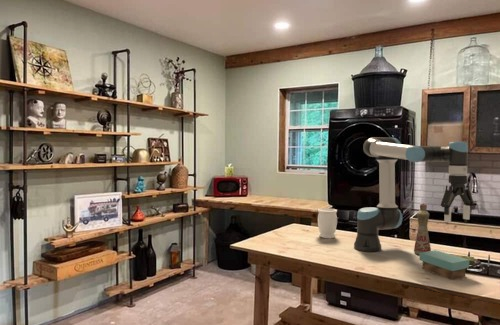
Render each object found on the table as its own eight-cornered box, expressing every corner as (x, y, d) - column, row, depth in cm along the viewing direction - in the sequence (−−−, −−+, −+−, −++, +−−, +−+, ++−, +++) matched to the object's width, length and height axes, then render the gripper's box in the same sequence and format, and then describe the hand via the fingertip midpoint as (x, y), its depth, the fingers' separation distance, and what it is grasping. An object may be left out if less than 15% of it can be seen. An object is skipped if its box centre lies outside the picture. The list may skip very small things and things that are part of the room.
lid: (419, 260, 172) (419, 252, 171) (435, 257, 176) (435, 250, 176) (452, 271, 156) (452, 263, 156) (469, 267, 161) (469, 259, 161)
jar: (313, 235, 241) (313, 208, 240) (328, 233, 246) (328, 207, 246) (326, 239, 229) (326, 211, 229) (341, 237, 235) (341, 210, 234)
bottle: (434, 254, 198) (435, 203, 197) (427, 257, 193) (428, 205, 191) (418, 250, 205) (419, 201, 204) (411, 253, 199) (411, 203, 198)
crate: (422, 270, 171) (422, 256, 171) (435, 268, 175) (435, 253, 175) (451, 281, 158) (452, 265, 157) (465, 278, 161) (465, 262, 161)
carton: (438, 259, 190) (438, 251, 189) (474, 264, 182) (474, 256, 181) (437, 264, 182) (437, 255, 182) (475, 269, 174) (475, 260, 174)
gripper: (447, 176, 158) (447, 224, 159) (482, 174, 169) (481, 219, 170) (432, 175, 165) (431, 221, 166) (466, 173, 176) (466, 216, 177)
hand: (457, 220), depth 168 cm, fingers open, 13 cm apart
